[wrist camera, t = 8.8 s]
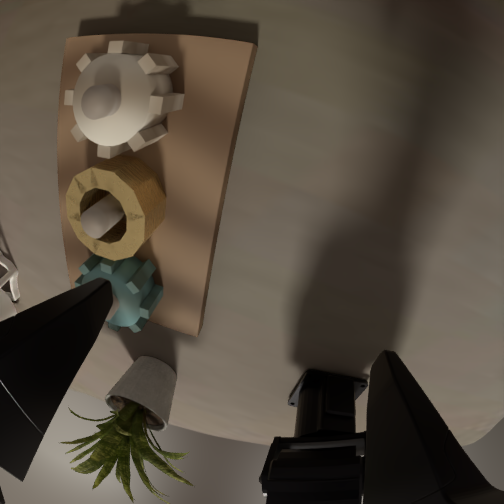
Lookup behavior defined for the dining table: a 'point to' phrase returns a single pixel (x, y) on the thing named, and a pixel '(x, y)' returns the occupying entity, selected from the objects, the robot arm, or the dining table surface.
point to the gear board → (153, 161)
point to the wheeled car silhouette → (3, 306)
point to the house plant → (133, 425)
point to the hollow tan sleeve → (130, 196)
